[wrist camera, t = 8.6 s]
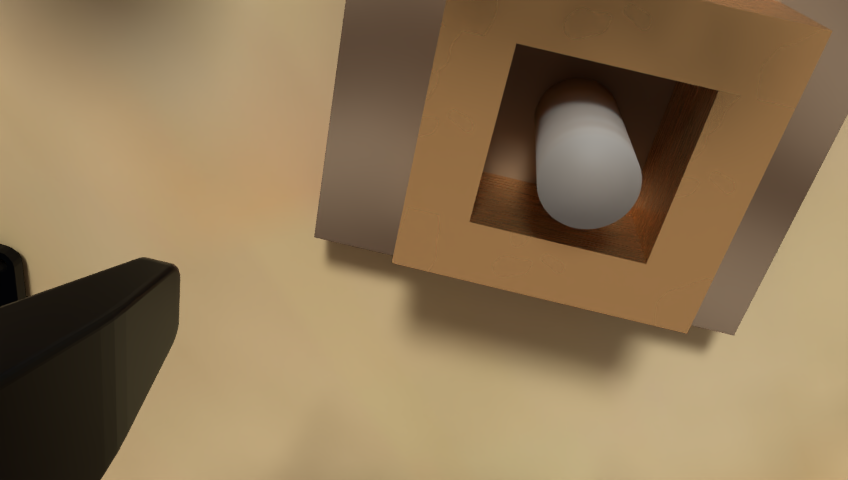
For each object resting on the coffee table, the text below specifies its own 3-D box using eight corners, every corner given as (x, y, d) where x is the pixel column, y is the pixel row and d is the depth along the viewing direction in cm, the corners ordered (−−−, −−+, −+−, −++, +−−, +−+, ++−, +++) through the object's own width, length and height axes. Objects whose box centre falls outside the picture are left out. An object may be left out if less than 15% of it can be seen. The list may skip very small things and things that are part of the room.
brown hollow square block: (664, 267, 19) (687, 333, 16) (409, 207, 19) (392, 262, 16) (779, 2, 15) (832, 30, 13) (469, -71, 15) (457, -57, 13)
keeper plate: (720, 305, 21) (779, 438, 16) (327, 213, 21) (269, 317, 16) (894, -51, 16) (1054, -12, 11) (380, -165, 16) (320, -176, 11)
